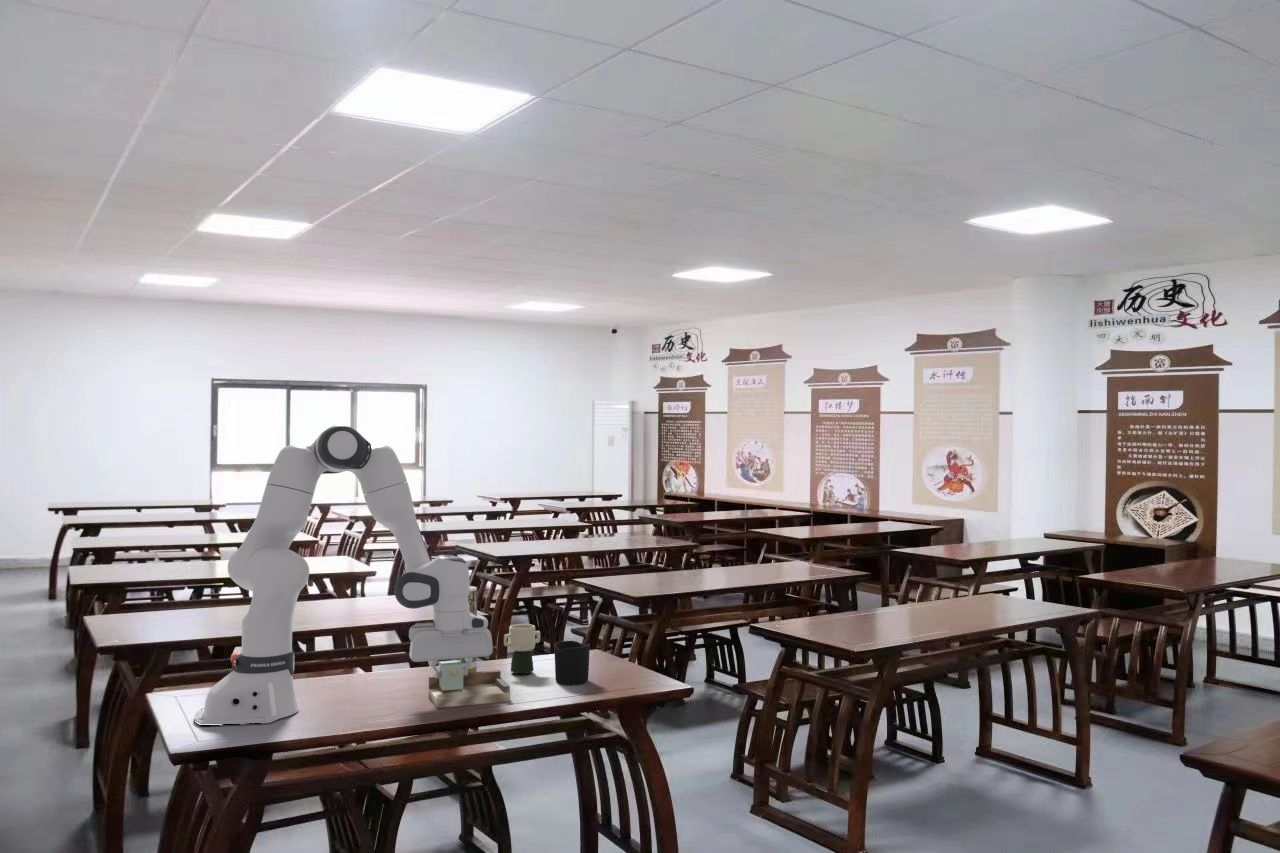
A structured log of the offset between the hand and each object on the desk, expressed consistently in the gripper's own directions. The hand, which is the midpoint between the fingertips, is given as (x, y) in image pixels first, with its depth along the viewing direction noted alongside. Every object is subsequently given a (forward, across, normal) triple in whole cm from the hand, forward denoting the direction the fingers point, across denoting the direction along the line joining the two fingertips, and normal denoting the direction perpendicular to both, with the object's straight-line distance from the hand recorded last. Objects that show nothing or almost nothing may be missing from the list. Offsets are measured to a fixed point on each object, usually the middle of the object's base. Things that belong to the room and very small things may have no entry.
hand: (451, 676), depth 240 cm
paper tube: (+6, +6, +16) cm, 18 cm away
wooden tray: (+6, +4, -1) cm, 7 cm away
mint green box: (+3, 0, 0) cm, 3 cm away
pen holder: (+6, +33, +6) cm, 34 cm away
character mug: (+6, +23, +20) cm, 31 cm away
